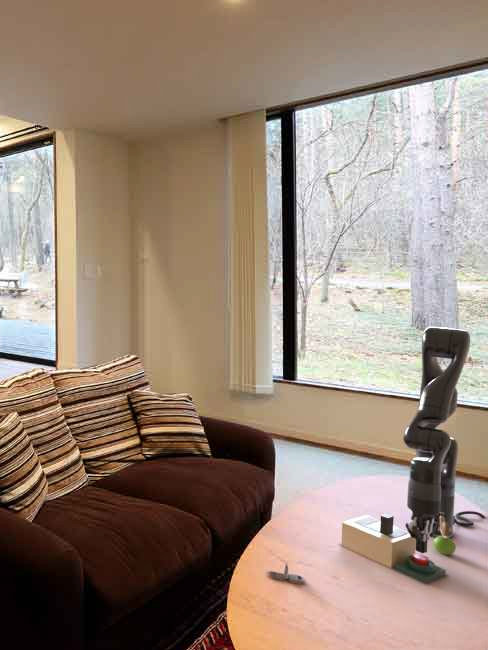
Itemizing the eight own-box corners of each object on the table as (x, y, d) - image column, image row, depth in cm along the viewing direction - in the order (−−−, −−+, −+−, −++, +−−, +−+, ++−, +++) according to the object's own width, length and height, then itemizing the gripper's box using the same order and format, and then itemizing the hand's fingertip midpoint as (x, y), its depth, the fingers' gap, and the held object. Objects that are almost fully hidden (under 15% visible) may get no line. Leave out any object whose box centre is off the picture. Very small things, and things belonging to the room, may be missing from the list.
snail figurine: (450, 549, 172) (452, 513, 171) (457, 559, 166) (460, 521, 165) (429, 546, 174) (431, 510, 173) (435, 555, 168) (437, 518, 167)
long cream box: (364, 537, 180) (365, 514, 180) (415, 559, 167) (416, 534, 166) (341, 545, 176) (342, 521, 175) (391, 568, 162) (392, 542, 161)
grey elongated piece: (302, 579, 157) (303, 565, 157) (303, 584, 154) (304, 570, 154) (269, 572, 161) (270, 559, 160) (270, 577, 158) (270, 564, 158)
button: (417, 558, 161) (417, 552, 161) (431, 564, 158) (431, 558, 158) (409, 560, 160) (410, 555, 160) (423, 566, 157) (424, 561, 157)
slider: (386, 530, 168) (386, 513, 167) (392, 533, 166) (393, 516, 166) (379, 532, 167) (380, 515, 166) (386, 535, 165) (387, 518, 164)
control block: (414, 562, 165) (415, 551, 165) (445, 575, 158) (446, 563, 157) (394, 569, 161) (395, 558, 161) (425, 583, 154) (425, 571, 153)
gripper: (425, 503, 151) (422, 562, 153) (452, 495, 156) (449, 552, 158) (396, 494, 158) (393, 550, 159) (422, 486, 163) (420, 541, 165)
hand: (421, 551), depth 159 cm, fingers closed
